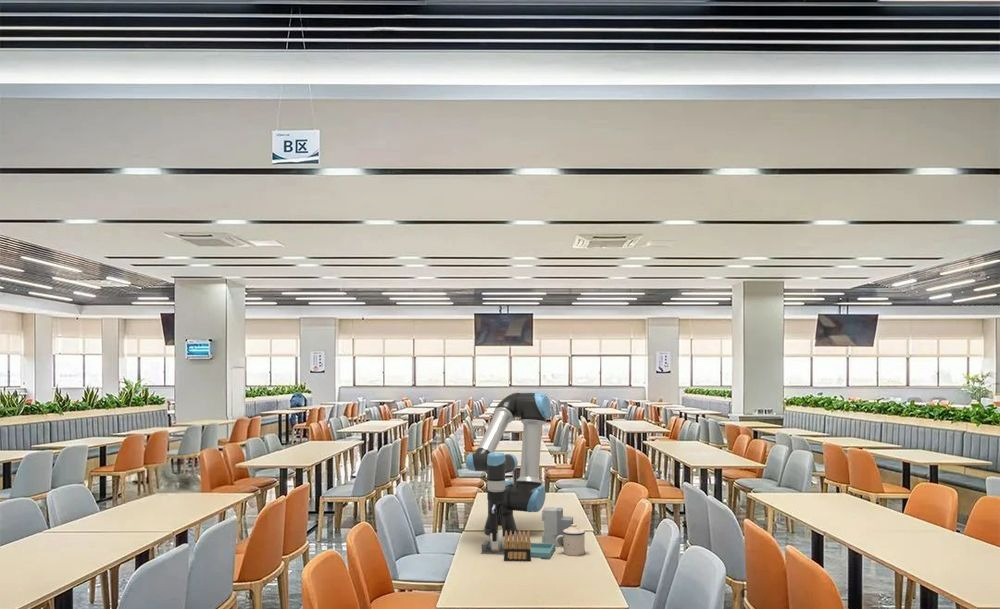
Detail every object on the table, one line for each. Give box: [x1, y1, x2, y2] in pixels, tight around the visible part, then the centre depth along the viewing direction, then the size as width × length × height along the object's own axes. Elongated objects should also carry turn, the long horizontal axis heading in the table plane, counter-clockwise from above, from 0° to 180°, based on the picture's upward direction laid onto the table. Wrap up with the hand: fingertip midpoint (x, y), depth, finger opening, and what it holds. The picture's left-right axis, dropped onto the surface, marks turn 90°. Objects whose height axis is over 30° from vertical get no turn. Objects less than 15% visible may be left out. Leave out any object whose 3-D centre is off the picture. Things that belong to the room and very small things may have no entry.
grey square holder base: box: [480, 540, 509, 556], centre depth 310 cm, size 12×11×4 cm
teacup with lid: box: [556, 523, 586, 557], centre depth 307 cm, size 12×9×12 cm
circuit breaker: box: [541, 506, 578, 548], centre depth 322 cm, size 8×14×15 cm, turn 78°
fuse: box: [489, 525, 504, 552], centre depth 310 cm, size 5×5×10 cm
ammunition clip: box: [503, 530, 532, 562], centre depth 295 cm, size 11×2×12 cm, turn 85°
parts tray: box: [517, 542, 556, 560], centre depth 307 cm, size 16×16×2 cm
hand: (496, 547), depth 310 cm, fingers open, 5 cm apart
